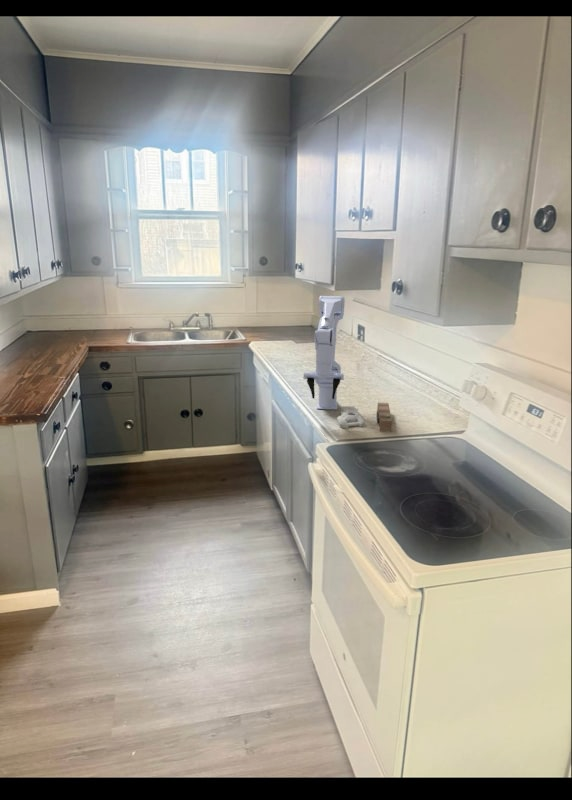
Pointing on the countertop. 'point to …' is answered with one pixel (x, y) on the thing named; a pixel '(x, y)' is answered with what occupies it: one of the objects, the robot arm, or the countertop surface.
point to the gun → (350, 417)
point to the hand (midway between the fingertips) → (323, 397)
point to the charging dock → (384, 417)
